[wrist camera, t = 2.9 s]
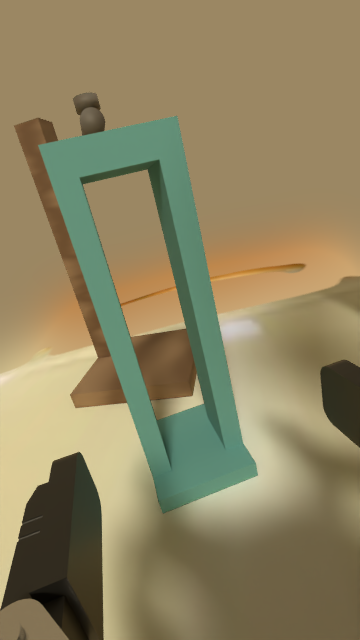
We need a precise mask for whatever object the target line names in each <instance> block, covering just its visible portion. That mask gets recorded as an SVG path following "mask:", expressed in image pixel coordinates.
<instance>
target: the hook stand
mask: <svg viewBox="0 0 360 640" xmlns="http://www.w3.org/2000/svg"><path fill="white" fill-rule="evenodd" d="M73 101H74V104H75V108H76V111H77V114H78V115H80V124H81V130H82V136H84V135H88V134H93V133H98V132H103V131H104V128H105V119H104V117H103V114H102V113H101V112H100V111H99V110H100V105H99V101H98V98H97V94H95V93H83V94H80V95H77V96H75V97H74V98H73ZM14 127H15V129H16V132H17V135H18V138H19V141H20V143H21V146H22V149H23V152H24V154H25V157H26V160H27V163H28V166H29V168H30V171H31V174H32V177H33V179H34V182H35V185H36V187H37V190H38V193H39V196H40V199H41V201H42V204H43V207H44V209H45V212H46V215H47V218H48V221H49V223H50V226H51V229H52V231H53V234H54V237H55V240H56V243H57V245H58V248H59V251H60V254H61V256H62V259H63V262H64V265H65V267H66V270H67V273H68V275H69V278H70V281H71V284H72V286H73V289H74V292H75V295H76V298H77V300H78V303H79V306H80V309H81V311H82V314H83V317H84V319H85V322H86V325H87V328H88V331H89V333H90V336H91V339H92V342H93V345H94V347H95V350H96V353H97V356H98V359H97V360H96V361H95V363H94V364H93V365H92V367H91V368H90V369H89V371H88V372H87V373H86V375H85V376H84V377H83V379H82V380H81V381H80V382H79V384H78V385H77V386H76V388H75V389H74V390H73V392H72V393H71V394H70V396H71V398H72V400H73V403H74V405H75V408H78V407H88V406H98V405H108V404H117V403H127V401H126V398H125V395H124V392H123V389H122V386H121V383H120V380H119V377H118V375H117V372H116V369H115V366H114V363H113V360H112V357H111V354H110V351H109V349H108V346H107V343H106V340H105V337H104V334H103V331H102V328H101V325H100V323H99V320H98V317H97V314H96V311H95V308H94V305H93V302H92V299H91V297H90V294H89V291H88V288H87V285H86V282H85V279H84V276H83V273H82V271H81V268H80V265H79V262H78V259H77V256H76V253H75V250H74V247H73V245H72V242H71V239H70V236H69V233H68V230H67V227H66V224H65V222H64V219H63V216H62V213H61V210H60V207H59V204H58V201H57V198H56V196H55V193H54V190H53V187H52V184H51V181H50V178H49V175H48V172H47V170H46V167H45V164H44V161H43V158H42V155H41V152H40V149H39V146H38V145H41V144H45V143H50V142H55V141H58V139H57V136H56V133H55V130H54V127H53V124H52V122H49V121H46V120H43V119H40V118H36V119H33V120H30V121H27V122H24V123H21V124H18V125H15V126H14ZM131 340H132V344H133V347H134V350H135V353H136V356H137V359H138V363H139V366H140V369H141V372H142V375H143V379H144V382H145V385H146V388H147V391H148V394H149V398H150V400H156V399H166V398H176V397H186V396H192V395H193V390H194V384H195V379H196V373H197V371H196V366H195V362H194V358H193V354H192V350H191V346H190V342H189V338H188V333H187V329H181V330H175V331H168V332H161V333H155V334H148V335H142V336H135V337H131Z"/></svg>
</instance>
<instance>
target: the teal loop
mask: <svg viewBox="0 0 360 640" xmlns="http://www.w3.org/2000/svg"><path fill="white" fill-rule="evenodd" d="M38 146H39V149H40V152H41V155H42V158H43V161H44V164H45V167H46V170H47V172H48V175H49V178H50V181H51V184H52V187H53V190H54V193H55V196H56V198H57V201H58V204H59V207H60V210H61V213H62V216H63V219H64V222H65V224H66V227H67V230H68V233H69V236H70V239H71V242H72V245H73V247H74V250H75V253H76V256H77V259H78V262H79V265H80V268H81V271H82V273H83V276H84V279H85V282H86V285H87V288H88V291H89V294H90V297H91V299H92V302H93V305H94V308H95V311H96V314H97V317H98V320H99V323H100V325H101V328H102V331H103V334H104V337H105V340H106V343H107V346H108V349H109V351H110V354H111V357H112V360H113V363H114V366H115V369H116V372H117V375H118V377H119V380H120V383H121V386H122V389H123V392H124V395H125V398H126V401H127V403H128V406H129V409H130V412H131V415H132V418H133V421H134V424H135V427H136V429H137V432H138V435H139V438H140V441H141V444H142V447H143V450H144V452H145V455H146V458H147V461H148V464H149V467H150V470H151V473H152V476H153V479H154V483H155V488H156V493H157V497H158V501H159V504H160V507H161V510H162V513H165V512H168V511H170V510H173V509H175V508H178V507H180V506H183V505H185V504H188V503H190V502H193V501H195V500H198V499H200V498H203V497H205V496H208V495H210V494H213V493H215V492H217V491H220V490H222V489H225V488H227V487H230V486H232V485H235V484H237V483H240V482H242V481H245V480H247V479H250V478H252V477H255V476H257V475H258V473H257V468H256V463H255V461H254V460H253V458H252V457H251V455H250V453H249V452H248V450H247V449H246V447H245V446H244V444H243V441H242V436H241V431H240V426H239V421H238V416H237V411H236V406H235V401H234V396H233V391H232V386H231V381H230V376H229V371H228V366H227V361H226V356H225V351H224V346H223V341H222V336H221V331H220V326H219V321H218V317H217V312H216V307H215V302H214V297H213V292H212V287H211V282H210V277H209V272H208V267H207V262H206V257H205V252H204V247H203V242H202V237H201V232H200V227H199V222H198V217H197V212H196V207H195V203H194V197H193V193H192V187H191V182H190V177H189V172H188V168H187V162H186V158H185V152H184V148H183V143H182V138H181V133H180V128H179V123H178V118H177V116H174V117H170V118H165V119H160V120H155V121H151V122H146V123H141V124H136V125H131V126H127V127H122V128H117V129H112V130H108V131H103V132H98V133H93V134H88V135H84V136H79V137H74V138H69V139H65V140H60V141H55V142H50V143H45V144H41V145H38ZM146 169H148V173H149V177H150V181H151V185H152V188H153V193H154V197H155V201H156V205H157V210H158V214H159V218H160V222H161V226H162V230H163V234H164V239H165V243H166V246H167V251H168V255H169V259H170V263H171V267H172V271H173V276H174V280H175V284H176V288H177V292H178V296H179V300H180V305H181V308H182V313H183V317H184V321H185V325H186V329H187V333H188V338H189V342H190V346H191V350H192V354H193V358H194V362H195V366H196V371H197V375H198V379H199V383H200V387H201V391H202V395H203V399H204V404H202V405H199V406H196V407H193V408H191V409H188V410H185V411H182V412H179V413H177V414H174V415H171V416H168V417H165V418H163V419H160V420H156V417H155V414H154V410H153V407H152V404H151V401H150V398H149V394H148V391H147V388H146V385H145V382H144V379H143V375H142V372H141V369H140V366H139V363H138V359H137V356H136V353H135V350H134V347H133V344H132V340H131V337H130V334H129V331H128V328H127V325H126V321H125V318H124V315H123V312H122V309H121V305H120V302H119V299H118V296H117V293H116V289H115V286H114V283H113V280H112V277H111V274H110V270H109V267H108V264H107V261H106V258H105V254H104V251H103V248H102V245H101V242H100V239H99V235H98V232H97V229H96V226H95V223H94V219H93V216H92V213H91V210H90V207H89V204H88V201H87V198H86V194H85V191H84V188H83V184H86V183H90V182H95V181H99V180H103V179H107V178H112V177H116V176H120V175H125V174H129V173H133V172H138V171H142V170H146Z"/></svg>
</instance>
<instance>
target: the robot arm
mask: <svg viewBox="0 0 360 640" xmlns="http://www.w3.org/2000/svg"><path fill="white" fill-rule="evenodd" d="M321 386H322V398H323V407H324V411H325V413H326V415H327V417H328V419H329V420H330V422H331V423H332V424H333V425H334V426H335V427H337V428H338V429H339V430H340V431H341V432H342V433H343V434H345V435H346V436H347V437H348V438H349V439H350V440H351V441H353V442H354V443H355V444H356V445H357V446H358V447H360V367H358V366H356V365H355V364H353V363H351V362H349V361H347V360H341V361H339V362H336V363H333V364H330V365H327V366H324V367H322V369H321ZM22 524H23V525H22V526H21V529H20V533H19V537H18V539H19V542H17V545H16V549H15V553H14V557H13V561H12V565H11V569H10V574H9V578H8V582H7V586H6V590H5V594H4V598H3V602H2V606H1V609H0V640H104V638H103V577H102V515H101V504H100V499H99V495H98V492H97V489H96V486H95V484H94V482H93V479H92V477H91V475H90V472H89V470H88V467H87V465H86V463H85V460H84V458H83V456H82V454H81V453H80V452H77V453H75V454H72V455H69V456H66V457H63V458H60V459H58V460H55V461H53V463H52V467H51V473H50V478H49V482H48V483H45V484H42V485H39V486H38V487H37V488H36V490H35V491H34V493H33V495H32V496H31V498H30V499H29V501H28V503H27V504H26V508H25V512H24V516H23V521H22Z"/></svg>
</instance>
